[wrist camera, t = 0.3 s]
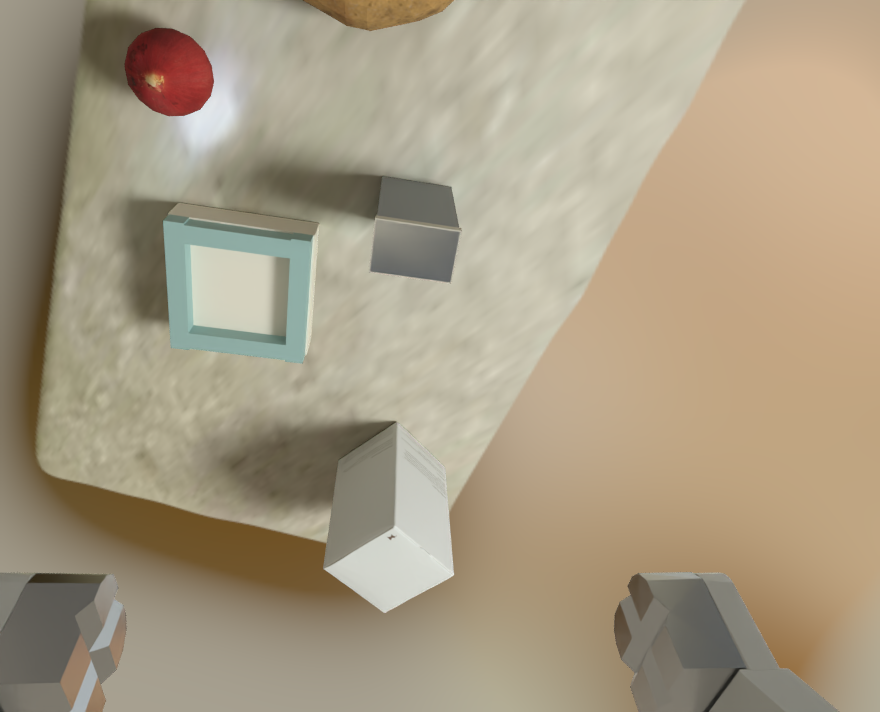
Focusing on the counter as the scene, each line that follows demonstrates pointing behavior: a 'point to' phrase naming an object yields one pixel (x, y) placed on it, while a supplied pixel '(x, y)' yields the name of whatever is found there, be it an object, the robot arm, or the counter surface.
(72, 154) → the counter surface
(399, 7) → the potato
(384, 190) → the blue-grey box
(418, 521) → the supplement box
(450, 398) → the counter surface
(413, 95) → the counter surface
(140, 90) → the onion
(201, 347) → the display stand
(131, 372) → the counter surface
